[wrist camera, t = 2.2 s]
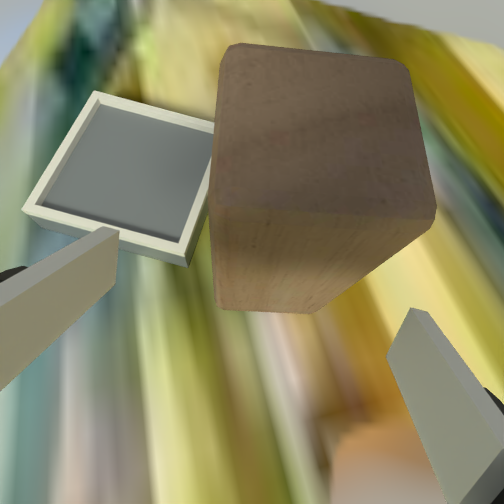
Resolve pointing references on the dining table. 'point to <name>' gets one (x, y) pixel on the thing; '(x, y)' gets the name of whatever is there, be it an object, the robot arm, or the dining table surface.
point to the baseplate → (129, 178)
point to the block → (311, 175)
